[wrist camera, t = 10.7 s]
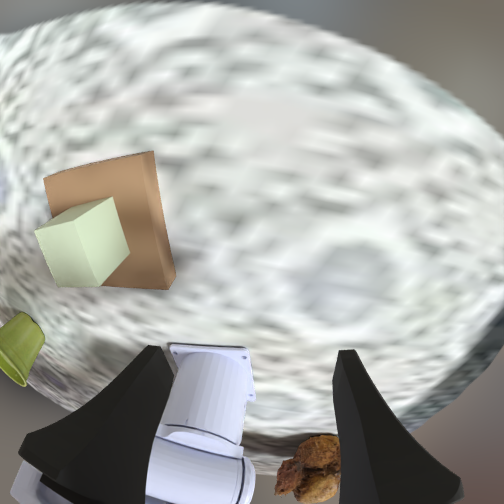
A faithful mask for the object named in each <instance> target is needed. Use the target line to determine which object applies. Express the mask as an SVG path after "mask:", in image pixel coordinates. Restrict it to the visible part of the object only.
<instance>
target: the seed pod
mask: <svg viewBox="0 0 504 504" xmlns="http://www.w3.org/2000/svg"><path fill="white" fill-rule="evenodd" d="M339 475H341V455H340V444H339V438H338V437H337V436H332V435H328V436H325V435H321V436H320V437H316V436H314V437H313V438H312V437H310V439H308V440H306V441H305V442H303V443H301V444H300V446H299V447H298V449H297V452H296V454H295V455H294V458H293V459H289V460H286V461H283V463H282V465H281V467H280V468H279V469H278V472H277V484H276V485H275V494H274V495H277V494H278V495H282V494H285V495H286V494H288V493H289V492H291V491H293V492H294V495H295V498H296V499H297V501H299V502H301V503H305V504H310V503H318V502H323V501H326V500H327V499H329V498H331V497H333V496H334V495H335V493H336V491H337V489H338V485H339V483H340V476H339Z"/></svg>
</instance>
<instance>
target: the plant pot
mask: <svg viewBox="0 0 504 504" xmlns="http://www.w3.org/2000/svg"><path fill="white" fill-rule="evenodd" d="M44 341H45V337H44V334H43V332H42V331H41V329H40V327H39V326H38V325H37V324H36V323H34V322H33V321H32V320H31V317H30V316H29V315H27V314H25V313H23V312H20V313H19V314H17V315H16V316H15V317H14V318H12V319H11V320H10V321H9V322H7V323H6V324H5V325H4V326H2V327H1V328H0V368H1V369H2V370H3V371H4V372H5V373H6V374H7V375H8V376H9V377H11V379H13V380H14V381H15V382H16V383H18V384H19V385H21V386H23V387H26V385H27V382H26V380H27V378H28V376H29V371H30V369H31V367H32V365H33V363H34V361H35V359H36V357H37V355H38V353H39V351H40V349H41V348H42V346H43V344H44Z"/></svg>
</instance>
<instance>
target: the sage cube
mask: <svg viewBox="0 0 504 504" xmlns="http://www.w3.org/2000/svg"><path fill="white" fill-rule="evenodd" d="M34 232H35V235H36V237H37V240H38V243H39V245H40V248H41V250H42V253H43V255H44V258H45V260H46V262H47V265H48V267H49V269H50V271H51V274H52V276H53V278H54V280H55V282H56V284H57V286H58V287H100V286H101V285H102V283H103V282H104V281H105V280H106V279H107V278H108V277H109V276H110V274H111V273H112V272H113V271H114V270H115V269H116V268H117V267H118V266H119V265H120V264H121V263H122V261H123V260H124V259H125V258H126V257H127V256H128V255H129V254H130V251H129V248H128V245H127V242H126V239H125V236H124V233H123V230H122V227H121V224H120V220H119V217H118V214H117V210H116V207H115V203H114V200H113V196H112V197H108V198H104V199H100V200H96V201H92V202H89V203H85V204H81V205H78V206H74V207H71V208H69V209H68V210H66V211H64V212H63V213H61V214H59V215H58V216H56V217H55V218H53V219H51V220H50V221H48V222H47V223H45V224H44V225H42V226H40V227H39V228H37V229H36V230H34Z"/></svg>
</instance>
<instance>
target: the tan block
mask: <svg viewBox="0 0 504 504" xmlns="http://www.w3.org/2000/svg"><path fill="white" fill-rule="evenodd" d="M43 180H44V185H45V189H46V194H47V198H48V202H49V206H50V210H51V213H52V217H53V218H55V217H56V216H58V215H59V214H61V213H63V212H64V211H66V210H68V209H69V208H71V207H74V206H78V205H81V204H85V203H89V202H92V201H96V200H100V199H104V198H108V197H112V196H113V200H114V203H115V207H116V210H117V214H118V217H119V220H120V224H121V227H122V230H123V233H124V236H125V239H126V242H127V245H128V248H129V251H130V254H129V255H128V256H127V257H126V258H125V259H124V260H123V261H122V263H121V264H120V265H119V266H118V267H117V268H116V269H115V270H114V271H113V272H112V273H111V274H110V276H109V277H108V278H107V279H106V280H105V281H104V282H103V283H102V285H101V286H111V287H126V288H142V289H161V290H168V289H169V288H170V286H171V284H172V283H173V281H174V279H175V278H176V272H175V268H174V264H173V259H172V255H171V250H170V245H169V240H168V235H167V230H166V225H165V220H164V215H163V209H162V204H161V198H160V192H159V186H158V179H157V173H156V166H155V158H154V151H148V152H142V153H137V154H132V155H126V156H121V157H117V158H112V159H107V160H103V161H99V162H94V163H90V164H86V165H82V166H78V167H75V168H71V169H67V170H64V171H60V172H57V173H55V174H52V175H50V176H48V177H45V178H43Z"/></svg>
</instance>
